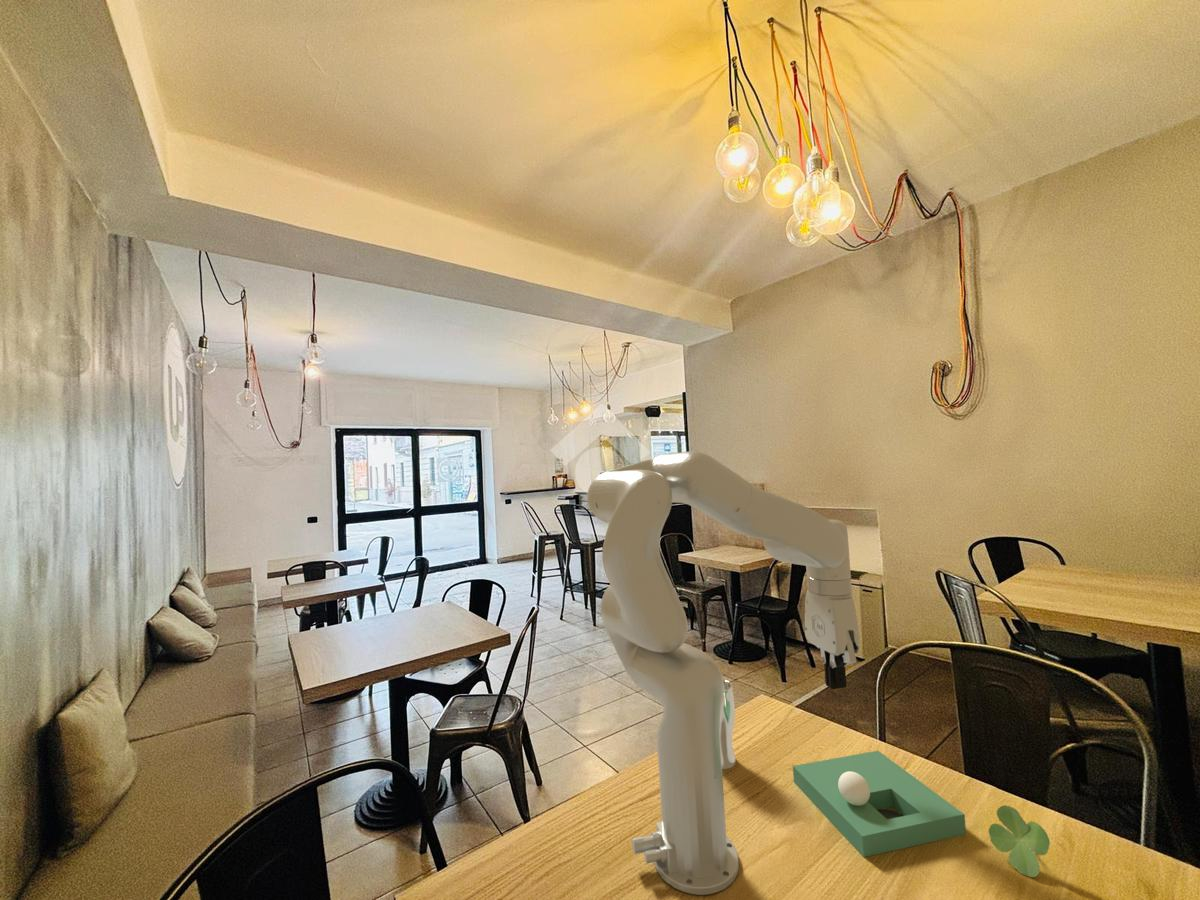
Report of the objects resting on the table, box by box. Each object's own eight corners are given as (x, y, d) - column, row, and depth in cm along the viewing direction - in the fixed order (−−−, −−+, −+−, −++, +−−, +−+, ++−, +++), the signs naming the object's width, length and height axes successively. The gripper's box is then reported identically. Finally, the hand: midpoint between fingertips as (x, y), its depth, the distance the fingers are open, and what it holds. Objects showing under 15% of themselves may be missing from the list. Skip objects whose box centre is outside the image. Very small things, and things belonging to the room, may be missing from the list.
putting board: (863, 857, 72) (862, 836, 72) (793, 782, 90) (792, 765, 90) (966, 834, 75) (964, 814, 75) (879, 766, 93) (878, 750, 93)
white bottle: (710, 747, 102) (706, 674, 103) (743, 757, 98) (738, 681, 99) (696, 764, 97) (692, 687, 98) (730, 775, 93) (725, 695, 93)
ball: (841, 760, 82) (859, 776, 82) (827, 784, 81) (845, 801, 81) (862, 774, 77) (881, 792, 78) (847, 801, 76) (867, 818, 77)
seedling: (1010, 877, 72) (996, 870, 69) (993, 811, 77) (980, 802, 74) (1073, 887, 68) (1062, 882, 65) (1051, 817, 73) (1039, 808, 70)
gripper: (788, 579, 98) (794, 673, 97) (837, 597, 83) (845, 707, 82) (821, 576, 99) (828, 668, 98) (876, 593, 84) (884, 702, 83)
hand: (836, 686), depth 90 cm, fingers closed
